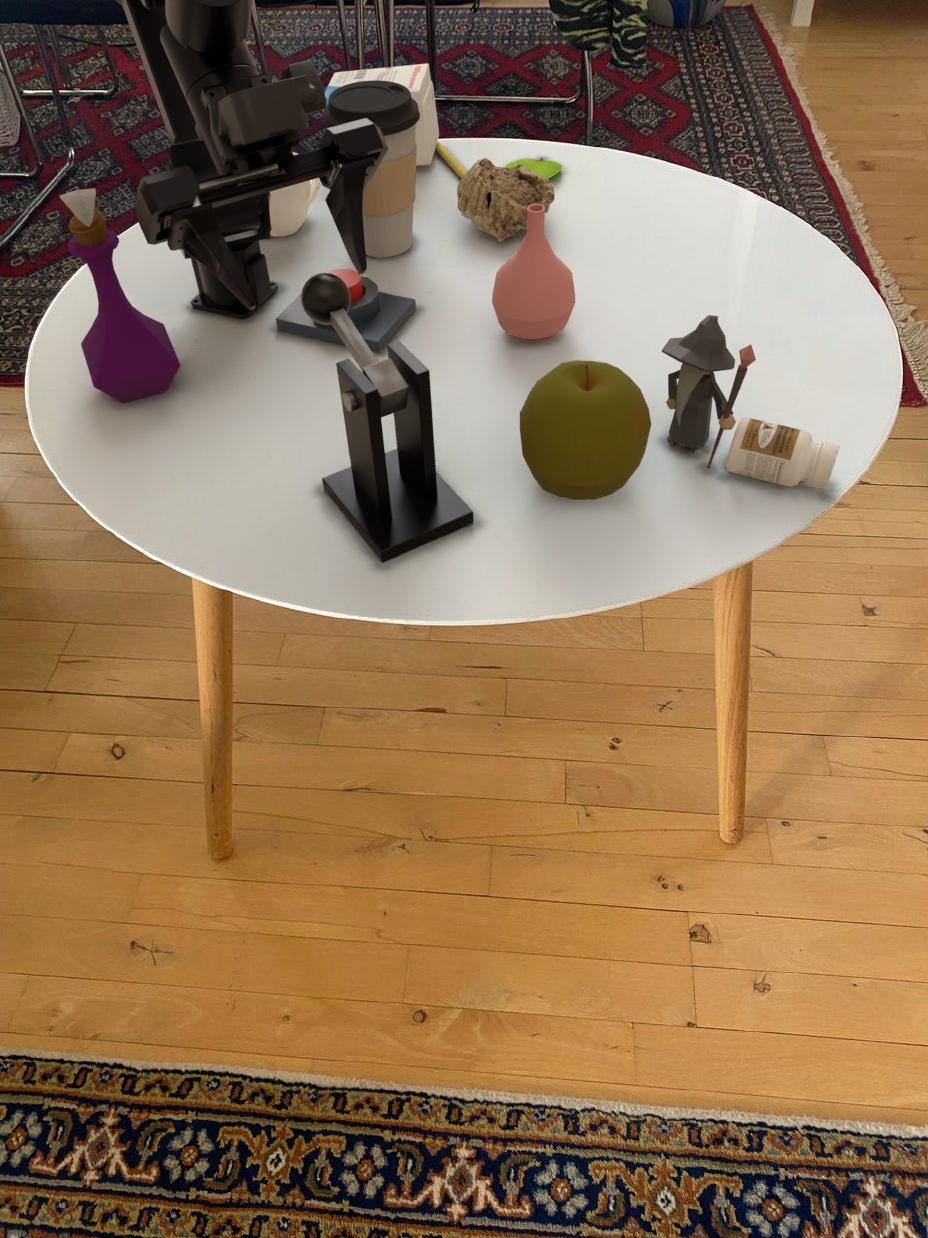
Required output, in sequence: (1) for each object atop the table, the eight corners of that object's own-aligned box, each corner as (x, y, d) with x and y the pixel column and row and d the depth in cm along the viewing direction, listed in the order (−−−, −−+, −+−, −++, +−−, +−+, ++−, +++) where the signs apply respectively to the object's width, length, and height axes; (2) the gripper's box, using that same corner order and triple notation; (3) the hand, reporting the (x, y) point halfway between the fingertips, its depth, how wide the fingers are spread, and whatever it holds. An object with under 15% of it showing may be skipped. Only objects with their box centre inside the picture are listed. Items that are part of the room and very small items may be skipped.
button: (318, 301, 93) (315, 283, 92) (336, 282, 95) (334, 265, 94) (352, 308, 92) (350, 291, 91) (369, 289, 94) (367, 272, 93)
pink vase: (537, 364, 90) (540, 238, 81) (475, 334, 93) (472, 210, 84) (590, 328, 93) (599, 204, 84) (528, 301, 97) (531, 179, 88)
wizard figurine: (637, 442, 82) (653, 311, 73) (676, 411, 84) (697, 281, 75) (722, 485, 78) (750, 353, 69) (761, 452, 80) (793, 320, 71)
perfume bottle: (91, 374, 91) (20, 178, 77) (172, 354, 93) (116, 159, 79) (105, 418, 86) (32, 219, 73) (189, 396, 88) (133, 198, 75)
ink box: (336, 174, 117) (431, 166, 115) (318, 99, 111) (419, 89, 109) (349, 143, 123) (441, 135, 121) (334, 70, 117) (430, 60, 115)
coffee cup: (444, 236, 106) (437, 87, 95) (394, 275, 101) (380, 122, 90) (374, 216, 110) (359, 70, 99) (321, 252, 105) (300, 103, 94)
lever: (293, 306, 74) (292, 270, 71) (336, 292, 75) (337, 256, 72) (370, 427, 70) (372, 394, 67) (414, 410, 71) (419, 377, 68)
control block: (277, 329, 95) (272, 301, 93) (318, 289, 100) (314, 261, 97) (379, 353, 92) (376, 324, 90) (416, 310, 97) (414, 281, 94)
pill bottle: (745, 404, 77) (846, 427, 75) (735, 447, 81) (831, 471, 79) (730, 438, 75) (834, 463, 73) (721, 481, 78) (820, 506, 76)
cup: (232, 229, 109) (219, 167, 104) (302, 197, 113) (293, 137, 108) (276, 252, 105) (264, 189, 100) (346, 218, 110) (339, 156, 105)
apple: (551, 538, 74) (557, 419, 66) (497, 464, 80) (496, 346, 72) (665, 500, 77) (685, 381, 69) (605, 431, 83) (616, 314, 75)
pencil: (427, 142, 121) (433, 146, 122) (469, 188, 113) (476, 193, 113) (432, 135, 121) (438, 139, 122) (475, 181, 112) (481, 185, 113)
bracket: (323, 489, 79) (299, 350, 70) (410, 454, 82) (398, 316, 72) (382, 563, 73) (364, 422, 64) (474, 523, 76) (469, 382, 66)
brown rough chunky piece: (483, 274, 106) (569, 232, 103) (454, 222, 101) (544, 176, 98) (471, 215, 113) (552, 174, 110) (444, 163, 107) (528, 119, 104)
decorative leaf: (579, 175, 115) (580, 166, 114) (521, 198, 111) (521, 189, 111) (537, 156, 119) (537, 148, 118) (479, 178, 116) (479, 169, 115)
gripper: (99, 52, 62) (203, 288, 64) (362, -6, 68) (450, 211, 70) (100, 139, 73) (189, 340, 74) (328, 82, 79) (405, 269, 80)
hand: (309, 289), depth 74 cm, fingers open, 9 cm apart
